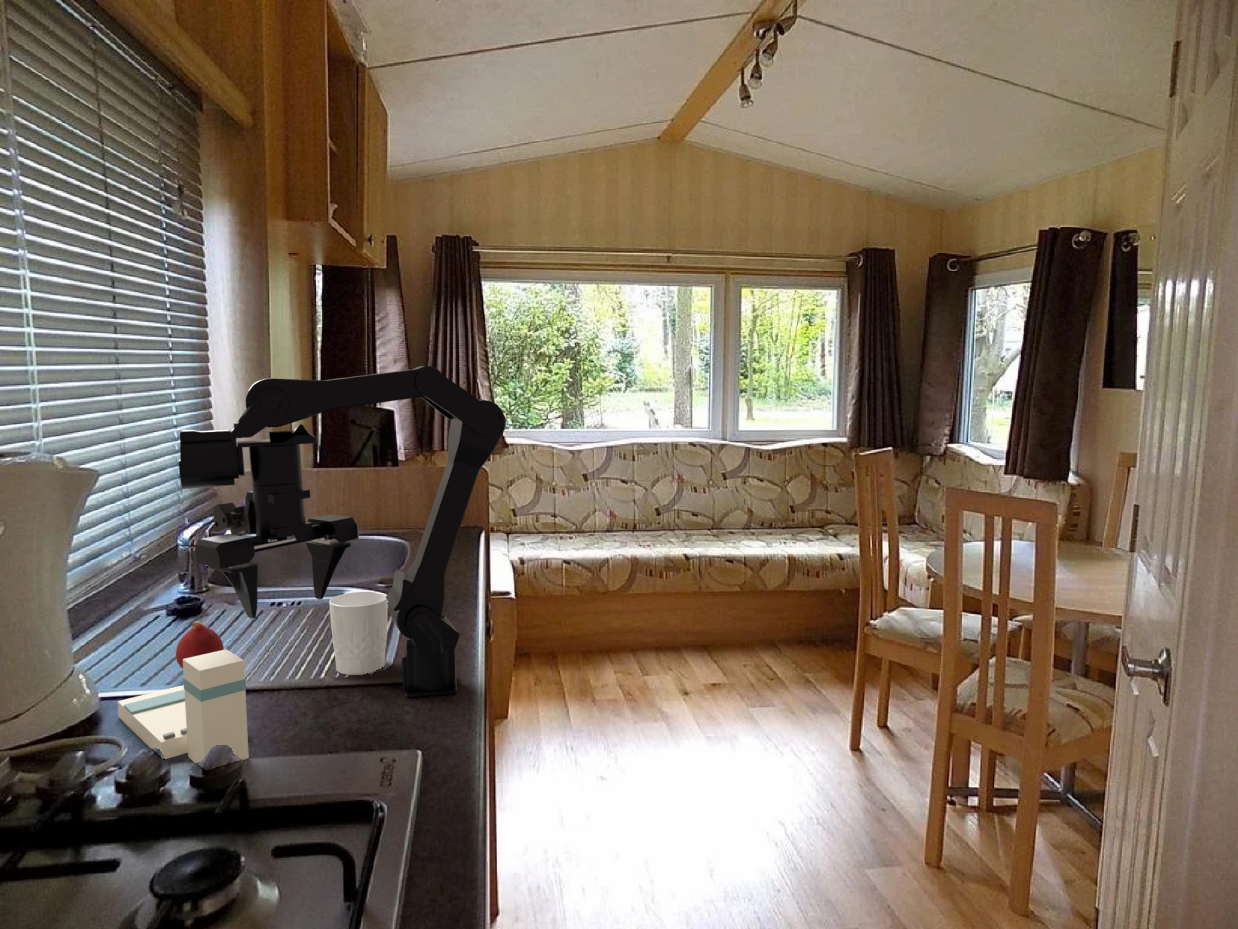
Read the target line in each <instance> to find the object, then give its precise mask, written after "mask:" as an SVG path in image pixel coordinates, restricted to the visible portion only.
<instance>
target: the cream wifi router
mask: <svg viewBox="0 0 1238 929" xmlns="http://www.w3.org/2000/svg"><path fill="white" fill-rule="evenodd" d="M117 710H118V718H119V719H120V720H121V721H122V722H123V723H124V724H125V725H126V727H128V728H129V729H130V730H131V731H132V732H133V733H134V734H135V736H137V737H139V738H140V740H141V741H142V742H144V744H145V745H146V746H148V748H150V749H151V748H157V749H160V751H161V752H162V754H163V755H164V758H165V760H167V759H171V758H174V757H178V756H181V755H184V754H188V745H187V727H186V709H185V691H184V685H178V686H175V687H171V688H166V689H163V690H162V689H161V690H157V691H155V692H150V693H146V694H142V695H138V696H137V695H136V696H134V697H130V698H126V699H122V700H118V701H117Z"/></svg>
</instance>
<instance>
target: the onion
mask: <svg viewBox="0 0 1238 929" xmlns="http://www.w3.org/2000/svg"><path fill="white" fill-rule="evenodd" d="M191 625H192V628H191V629H189V630H188V631H187V632H186V633H184V634H183V635H182V637H181V638H180V639H179V641H178V643H177V645H176V649H175V658H176V662H177V664H178V665H179V667H180V668H181V669H183V659H186V658H190V657H195V656H199V655H203V654H208V653H212V652H217V651H221V650H225V648H224V644H223V641H222V639H221V637H220V635H219V634H218V633H217V632H216V631H215V630H213V629H211V628H210V627H208V626H206V625H205V624H203V623H202V622H200V621H197V620H195V621H193V622H192V624H191Z"/></svg>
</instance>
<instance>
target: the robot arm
mask: <svg viewBox="0 0 1238 929" xmlns="http://www.w3.org/2000/svg"><path fill="white" fill-rule="evenodd" d="M415 398H416V399H417V398H421V399H423V400H424V402H426V403H428V404H429V405H430V406H431V407H432V408H434V409H435V410H436V411H438V412H439V413H440V414H441V415H442V416H444V417H445V418H446V419H447V420H448V421H450V424H449V432H448V440H447V441H448V442H447V444H448V445H447V461H446V466H445V468H444V471H443V474H442V477H441V481H440V483H439V486H438V488H437V493H436V496H435V499H434V501H433V504H432V508H431V511H430V512H429V517H428V520H427V523H426V525H425V529H424V531H423V534H422V537H421V541H420V543H419V547H418V549H417V553H416V556H415V558H414V561H413V562H412V563H411V565H410V566H409V568H408V569H407V571H406V572H403V571H400V570H398V569H396V570H395V571H394V576H393V581H392V587H391V588H390V591H389V592H388V593H387V594H386V595H387V596H386V599H387V601H388V603H389V605H388V612H389V613H388V614H389V616H390V617H391V619H392V621H393V622H394V624H395V625H396V627H397V629H398V630H399V632H400V634H401V635H403V636H404V637H405V638H407V641H406V646H405V648H406V649H405V650H404V651H403V652H402V656H401V677H402V678H401V680H402V681H401V682H402V688H403V689H405V697H406V698H411V697H415V698H416V697H423V696H424V697H426V696H438V695H439V696H440V695H441V696H442V695H451V694H457V693H458V684H457V683H458V682H457V681H458V680H457V671H456V647H457V644H458V642H459V638H460V636H461V635H460V633H459V631H458V630H457V629H456V628H455V626H454V625H453V624H452V623H451V622H450V621H449V619H448V618H447V617H446V615H444V614H443V613H444V606H445V600H446V574H447V568H448V566H449V563H450V560H451V557H452V554H453V551H454V549H455V545H456V541H457V539H458V536H459V533H460V530H461V528H462V524H463V520H464V518H465V514H466V512H467V508H468V505H469V502H470V500H471V496H472V494H473V490H474V487H475V484H476V481H477V479H478V475H479V472H480V471H481V469H482V467H483V466H484V465H485V464H486V462H487V461H488V460H489V459H490V458H491V456H492V454H493V453H494V451H495V450H496V447H497V445H498V444H499V442H500V440H501V438H502V436H503V434H504V432H505V430H506V425H507V417H506V416H505V414H504V412H503V410H502V408H501V407H500V406H499V405H498V404H497V403H496V402H493V401H491V400H486V399H479V398H477V397H476V396H474V395H473V394H472V393H470V392H469V391H467V390H466V389H465V388H463V387H462V386H460V385H459V384H457V383H456V382H454V381H452V380H451V379H450V378H448V377H447V376H446V375H444V374H443V373H442V371H440V370H439V369H438V368H436V367H434V366H432V365H431V366H430V365H421V366H417V367H415V368H412V369H404V370H403V369H402V370H396V371H390V372H380V373H373V374H366V375H356V376H350V377H342V378H333V379H325V380H322V379H321V380H320V379H297V378H276V377H275V378H274V377H272V378H271V377H270V378H269V377H268V378H263V379H260V380H258V381H256V382H254V383H253V384H252V385H251V386H250V388H249V389H248V391H247V394H246V395H245V408H246V409H245V410H244V412H243V413H242V415H241V416H240V417H239V419H238V420H234V422H233V427H232V428H231V429H221V430H220V429H219V430H217V429H215V430H196V429H183V430H181V431H180V432H179V442H180V443H179V456H180V458H179V459H178V470H179V477H180V487H181V489H182V490H192V489H202V488H203V489H204V488H205V489H206V488H216V487H232V486H236V479H240V477H245V476H246V475H245V460H244V449H243V448H248V451H249V452H248V453H249V454H248V455H249V464H250V466H249V467H250V477H251V478H250V479H251V490H249V491H246V494H245V497H244V498H245V504H244V505H242V506H236V505H235V503H234V502H232V501H230V502H225V503H218V504H216V505H215V506H213V522H214V526H215V530H216V531H217V532H219V533H220V532H226V531H230V533H226V534H224V533H223V534H220V535H219V534H218V535H214V536H209V537H203V538H200V539H199V540H198V543H197V544H196V547H195V548H194V553H195V563H196V564H198V565H199V564H200V565H204V566H208V568H209V569H210V570H216V571H220V572H221V573H222V574H223V575H224V576H225V577H226V578H227V581H228V582H229V583H230V585H231V586H232V588H233V590H234V592H235V594H236V596H237V598H238V599H239V602H240V604H241V606H242V608H243V610H244V612H245V614H246V615H247V617H248V618H250V619H256V617H257V613H258V612H257V610H258V578H259V577H258V572H259V571H258V568H259V567H258V565H259V564H257V563H253V562H251V561H252V560H253V558H254V557H255V554H256V553H260V552H263V551H264V552H265V551H269V550H272V549H278V548H282V547H286V546H292V545H295V544H296V545H297V544H302V543H305V545H306V547H307V549H308V552H309V554H310V556H311V568H312V584H313V585H312V586H313V592H314V597H315V599H317V600H323V599H324V597H325V595H326V592H327V590H328V587H329V585H330V583H331V580H332V578H333V575H334V573H335V570H336V568H337V566H338V565H339V563H340V561H341V559H342V556H343V555H344V554H345V551H346V549H348V548H350V547H351V546H352V542H350V541H354V540H358V539H359V538H360V531H359V524H358V523H357V521H356V520H355V518H354V517H353V516H346V515H337V514H326V515H321V516H314V517H310V518H308V520H307V521H306V510H305V506H306V505H305V499H310V498H311V490H310V489H309V488H308V489H307V488H304V480H303V479H304V478H303V477H304V476H303V464H302V463H303V462H302V453H301V452H302V450H301V445H307V444H308V445H311V444H316V443H317V441H318V440H317V439H318V438H316V437H315V435H314V434H311V433H310V432H309V431H308V430H307V429H306V427H305V426H304V424H303V423H298V424H297V425H296V427H295V428H294V429H293V430H277V431H276V430H274V431H272V430H271V431H268V439H259V440H257V439H256V440H255V439H254V440H242V441H241V440H240V441H238V439H243V438H244V439H248V438H253V437H254V436H256V435H257V434H258V433H260V432H261V431H263V430H264V429H265V428H280V427H284V426H286V425H289V424H293V423H297V422H298V421H299V422H301V420H306V419H308V418H311V417H313V416H317V415H320V414H322V413H325V412H329V411H333V410H338V409H339V410H340V409H345V408H352V407H353V408H354V407H358V406H360V407H361V406H366V405H373V404H374V405H375V404H380V403H381V404H382V403H388V402H395V401H402V400H409V399H410V400H411V399H415ZM245 535H254V536H250V537H247V536H245Z"/></svg>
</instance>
